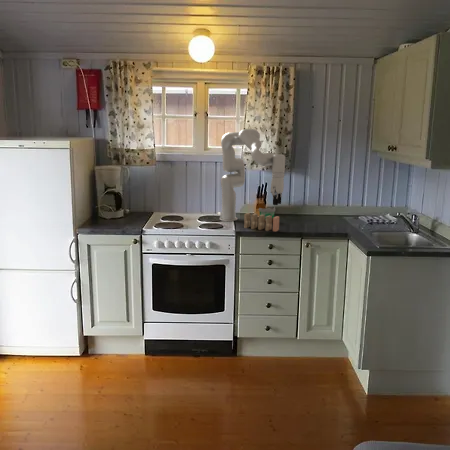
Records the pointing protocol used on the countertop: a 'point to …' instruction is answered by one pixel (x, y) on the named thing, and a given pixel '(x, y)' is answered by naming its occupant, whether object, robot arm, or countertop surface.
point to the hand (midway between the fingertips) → (276, 203)
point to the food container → (267, 212)
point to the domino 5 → (276, 223)
